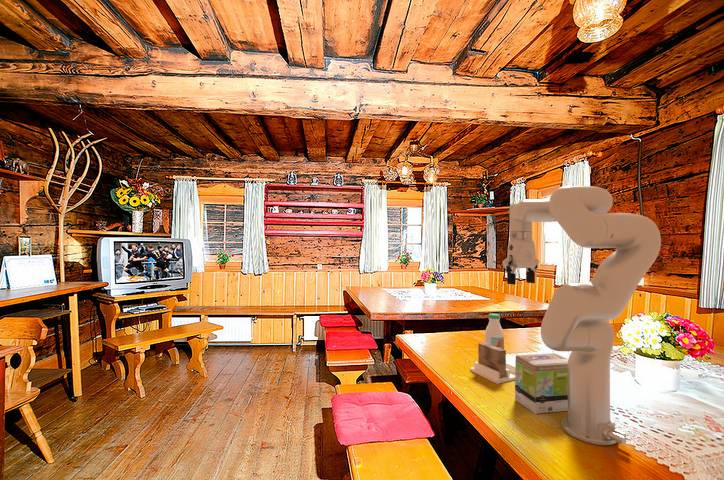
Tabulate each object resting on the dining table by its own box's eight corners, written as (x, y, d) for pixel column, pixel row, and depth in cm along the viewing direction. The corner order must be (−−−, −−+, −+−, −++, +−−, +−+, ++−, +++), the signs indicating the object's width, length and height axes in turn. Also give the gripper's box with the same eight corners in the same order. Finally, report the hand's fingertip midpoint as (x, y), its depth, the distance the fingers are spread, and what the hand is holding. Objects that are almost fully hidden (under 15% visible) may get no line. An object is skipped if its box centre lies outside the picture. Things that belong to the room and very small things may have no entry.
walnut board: (505, 377, 123) (505, 350, 123) (499, 378, 122) (499, 351, 122) (484, 367, 133) (484, 342, 134) (478, 368, 132) (478, 343, 132)
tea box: (536, 415, 98) (535, 365, 98) (514, 400, 107) (513, 354, 108) (579, 410, 101) (579, 362, 101) (554, 395, 110) (553, 351, 111)
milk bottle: (483, 361, 143) (483, 315, 143) (486, 356, 150) (486, 311, 150) (503, 364, 139) (502, 316, 139) (504, 358, 146) (504, 313, 146)
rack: (524, 377, 125) (524, 368, 125) (496, 383, 120) (496, 374, 120) (496, 365, 138) (496, 356, 138) (470, 370, 133) (470, 361, 133)
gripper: (511, 236, 114) (512, 285, 114) (546, 236, 121) (546, 283, 121) (495, 236, 121) (495, 283, 121) (528, 237, 128) (529, 281, 128)
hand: (521, 283), depth 121 cm, fingers open, 9 cm apart
